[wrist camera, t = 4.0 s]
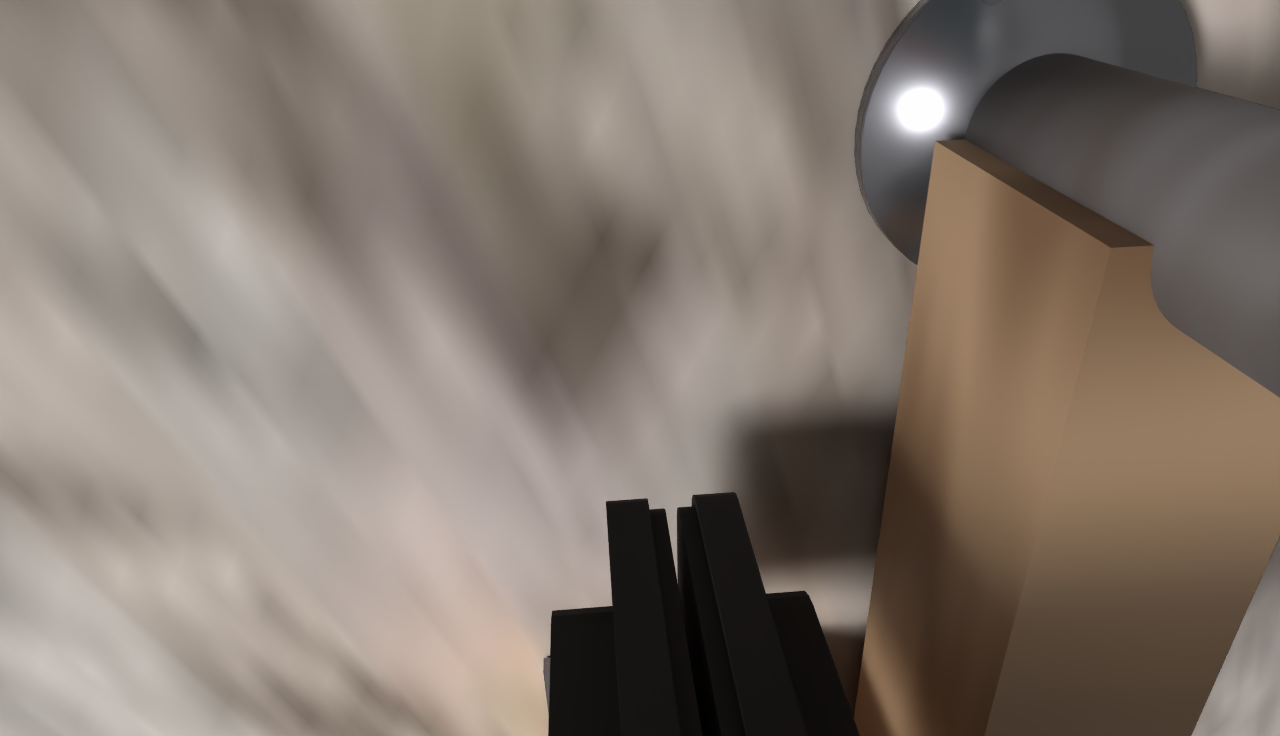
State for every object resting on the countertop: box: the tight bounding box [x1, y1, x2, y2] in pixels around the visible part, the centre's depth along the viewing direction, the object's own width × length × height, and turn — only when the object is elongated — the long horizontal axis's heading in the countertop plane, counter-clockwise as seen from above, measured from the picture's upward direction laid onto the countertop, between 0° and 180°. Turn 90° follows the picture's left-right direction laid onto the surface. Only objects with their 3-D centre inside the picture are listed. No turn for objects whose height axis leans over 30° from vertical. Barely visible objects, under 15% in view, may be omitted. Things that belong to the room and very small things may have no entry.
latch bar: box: [854, 53, 1280, 736], centre depth 10 cm, size 13×2×5 cm, turn 2°
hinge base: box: [854, 0, 1197, 265], centre depth 10 cm, size 4×4×1 cm
